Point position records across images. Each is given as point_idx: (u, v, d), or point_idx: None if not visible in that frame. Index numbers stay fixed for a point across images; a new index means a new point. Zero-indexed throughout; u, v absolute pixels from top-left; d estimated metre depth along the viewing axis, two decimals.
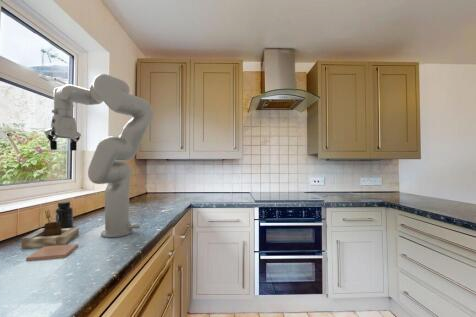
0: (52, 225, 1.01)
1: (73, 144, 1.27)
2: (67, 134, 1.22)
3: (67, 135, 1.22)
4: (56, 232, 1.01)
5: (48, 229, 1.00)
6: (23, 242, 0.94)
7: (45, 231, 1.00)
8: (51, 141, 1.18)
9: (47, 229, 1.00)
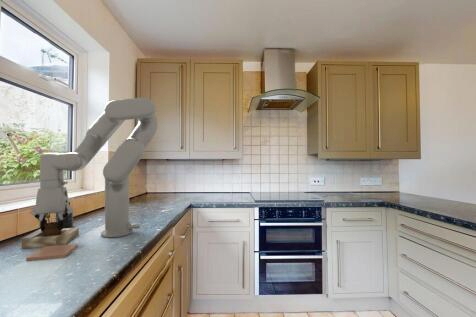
0: (52, 225, 1.01)
1: (46, 222, 1.03)
2: None
3: None
4: (56, 232, 1.01)
5: (48, 229, 1.00)
6: (23, 242, 0.94)
7: (45, 231, 1.00)
8: (63, 219, 1.04)
9: (47, 229, 1.00)
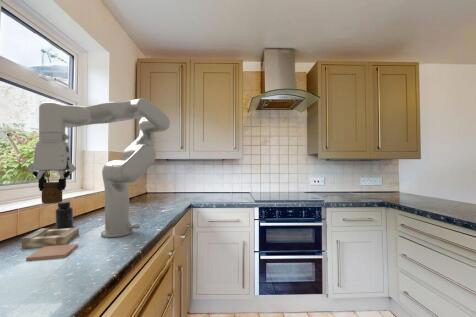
0: (51, 184, 0.89)
1: (45, 182, 0.91)
2: None
3: None
4: (56, 192, 0.89)
5: (47, 188, 0.88)
6: (23, 242, 0.94)
7: (43, 190, 0.88)
8: (65, 179, 0.92)
9: (46, 188, 0.88)
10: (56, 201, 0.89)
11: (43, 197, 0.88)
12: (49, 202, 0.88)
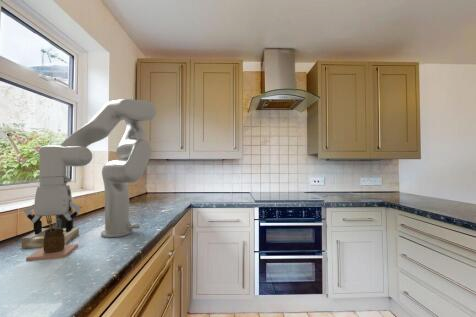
0: (54, 232, 0.87)
1: (40, 224, 0.88)
2: None
3: None
4: (58, 240, 0.87)
5: (49, 237, 0.86)
6: (23, 242, 0.94)
7: (45, 239, 0.86)
8: (72, 220, 0.90)
9: (48, 237, 0.86)
10: (58, 249, 0.87)
11: (45, 246, 0.86)
12: (51, 251, 0.86)
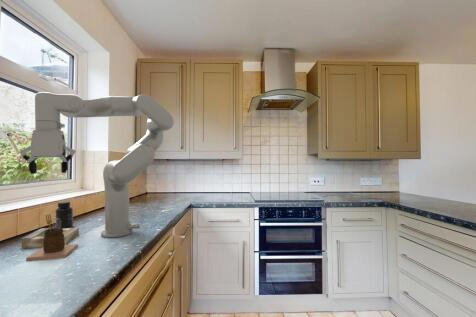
0: (53, 232, 0.87)
1: (35, 165, 0.95)
2: None
3: None
4: (58, 240, 0.87)
5: (49, 237, 0.86)
6: (23, 242, 0.94)
7: (45, 239, 0.86)
8: (67, 162, 0.98)
9: (48, 237, 0.86)
10: (58, 249, 0.87)
11: (45, 246, 0.86)
12: (51, 251, 0.86)
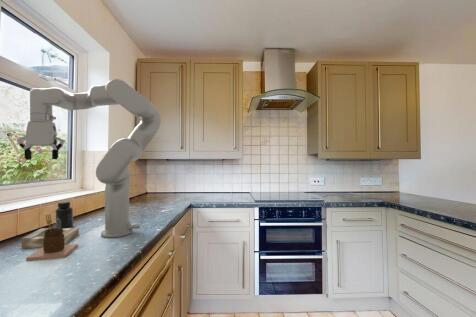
0: (53, 232, 0.87)
1: (30, 152, 1.09)
2: None
3: None
4: (58, 240, 0.87)
5: (49, 237, 0.86)
6: (23, 242, 0.94)
7: (45, 239, 0.86)
8: (57, 150, 1.10)
9: (48, 237, 0.86)
10: (58, 249, 0.87)
11: (45, 246, 0.86)
12: (51, 251, 0.86)
